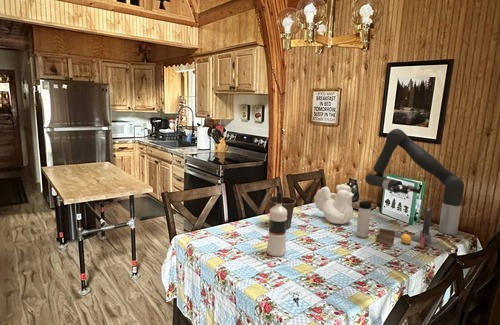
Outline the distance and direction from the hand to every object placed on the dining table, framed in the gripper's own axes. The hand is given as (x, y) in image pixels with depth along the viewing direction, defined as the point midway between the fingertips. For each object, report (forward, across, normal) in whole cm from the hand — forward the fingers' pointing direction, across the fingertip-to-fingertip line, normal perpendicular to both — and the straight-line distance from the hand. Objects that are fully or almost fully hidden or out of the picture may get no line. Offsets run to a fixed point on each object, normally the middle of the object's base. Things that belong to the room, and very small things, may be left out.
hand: (413, 192), depth 179 cm
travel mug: (-3, -30, +25) cm, 39 cm away
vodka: (+4, -85, +25) cm, 89 cm away
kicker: (+15, -3, +24) cm, 28 cm away
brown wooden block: (+4, -20, +25) cm, 32 cm away
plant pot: (-29, -68, +25) cm, 78 cm away
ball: (+11, -13, +22) cm, 28 cm away
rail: (+6, -6, +25) cm, 26 cm away
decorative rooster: (-30, -31, +25) cm, 50 cm away
